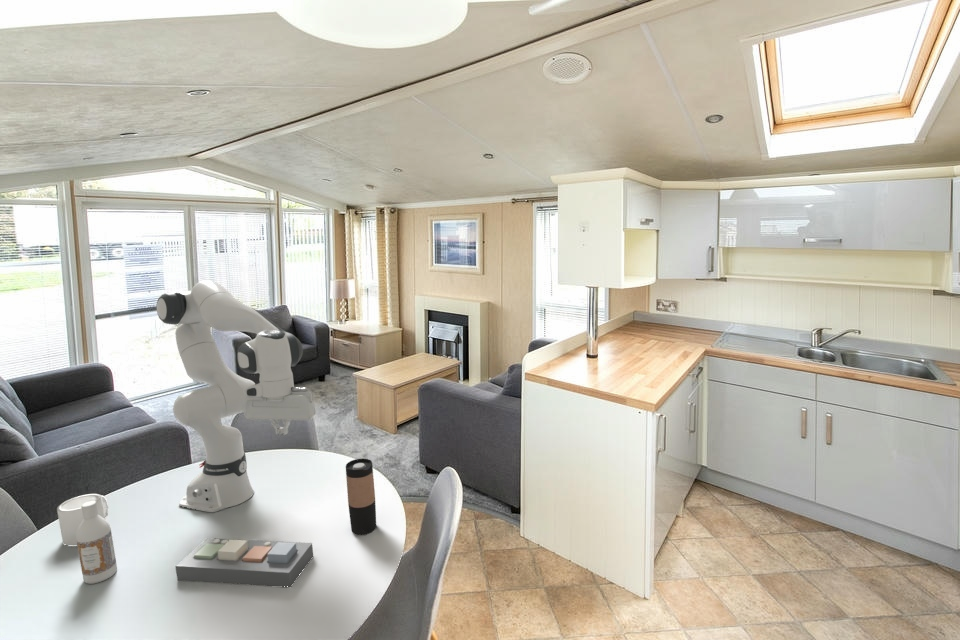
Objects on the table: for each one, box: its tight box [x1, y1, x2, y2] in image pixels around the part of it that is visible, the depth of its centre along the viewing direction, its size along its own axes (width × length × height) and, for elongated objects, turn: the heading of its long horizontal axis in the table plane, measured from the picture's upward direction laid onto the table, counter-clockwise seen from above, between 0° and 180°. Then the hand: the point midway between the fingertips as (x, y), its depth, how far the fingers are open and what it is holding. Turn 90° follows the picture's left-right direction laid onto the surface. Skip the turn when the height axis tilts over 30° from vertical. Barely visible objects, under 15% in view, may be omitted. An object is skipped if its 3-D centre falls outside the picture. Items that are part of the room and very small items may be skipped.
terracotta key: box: [243, 546, 272, 562], centre depth 127 cm, size 5×5×4 cm
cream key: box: [218, 539, 248, 561], centre depth 128 cm, size 5×5×4 cm
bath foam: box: [76, 501, 118, 585], centre depth 126 cm, size 7×7×20 cm
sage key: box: [194, 543, 224, 560], centre depth 129 cm, size 5×5×4 cm
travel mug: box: [345, 458, 377, 536], centre depth 143 cm, size 8×8×20 cm
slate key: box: [267, 541, 297, 564], centre depth 126 cm, size 5×5×4 cm
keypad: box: [175, 537, 314, 588], centre depth 128 cm, size 30×12×4 cm, turn 82°
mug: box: [56, 493, 109, 545], centre depth 146 cm, size 14×10×11 cm
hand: (282, 433), depth 142 cm, fingers closed
